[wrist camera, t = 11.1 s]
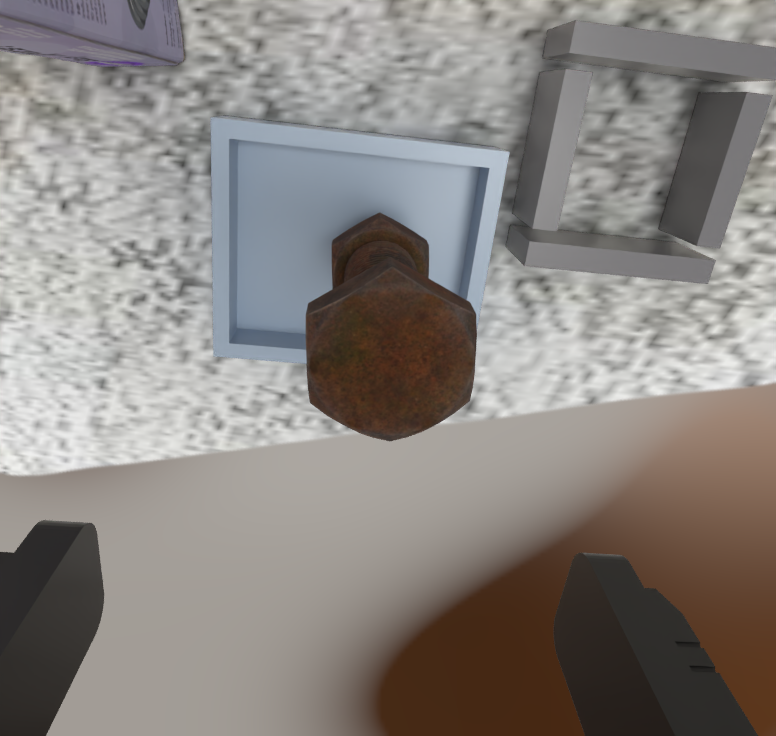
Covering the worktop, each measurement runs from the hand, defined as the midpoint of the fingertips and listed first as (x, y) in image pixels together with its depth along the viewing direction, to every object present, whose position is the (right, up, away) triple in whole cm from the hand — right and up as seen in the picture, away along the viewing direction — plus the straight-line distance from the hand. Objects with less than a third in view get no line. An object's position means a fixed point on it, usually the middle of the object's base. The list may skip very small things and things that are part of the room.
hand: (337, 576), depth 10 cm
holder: (+12, +15, +21) cm, 28 cm away
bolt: (0, +10, +21) cm, 24 cm away
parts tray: (-1, +10, +22) cm, 24 cm away
